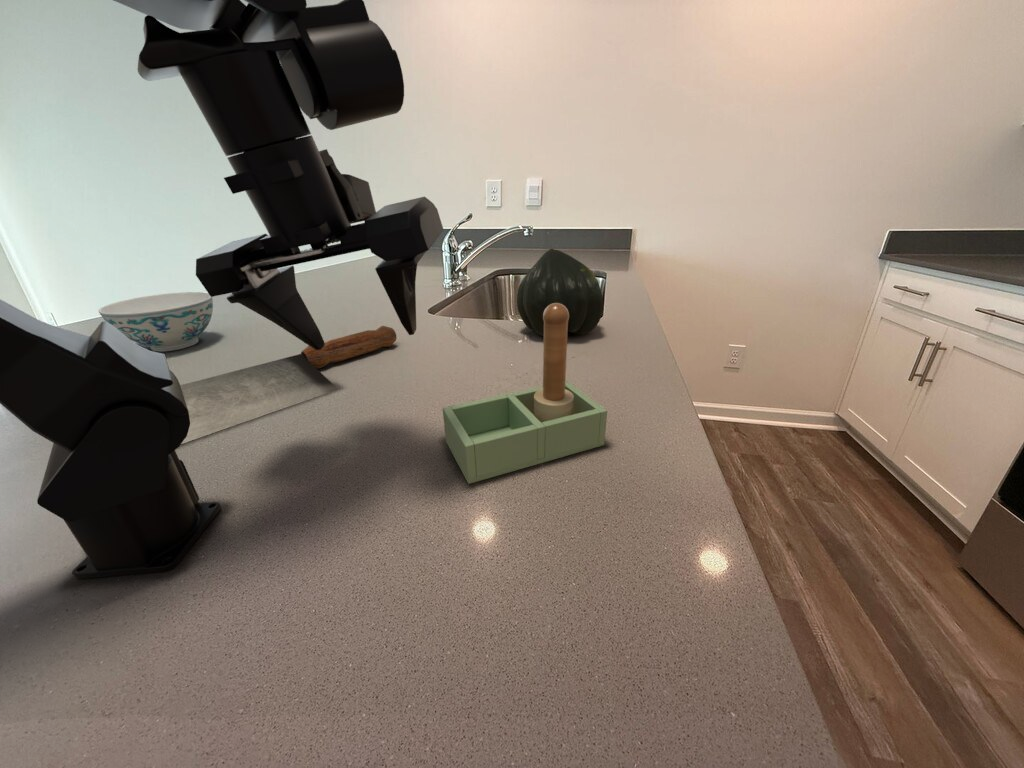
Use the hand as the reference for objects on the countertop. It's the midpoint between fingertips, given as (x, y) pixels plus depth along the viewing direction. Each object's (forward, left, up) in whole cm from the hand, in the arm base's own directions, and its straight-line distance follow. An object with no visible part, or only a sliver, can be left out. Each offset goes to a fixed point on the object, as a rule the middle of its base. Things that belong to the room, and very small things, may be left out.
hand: (366, 340), depth 37 cm
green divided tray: (-1, -14, -11) cm, 18 cm away
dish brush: (0, -17, -11) cm, 20 cm away
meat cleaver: (+17, +14, -12) cm, 25 cm away
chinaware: (+37, +43, -12) cm, 58 cm away
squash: (+34, -25, -12) cm, 44 cm away
